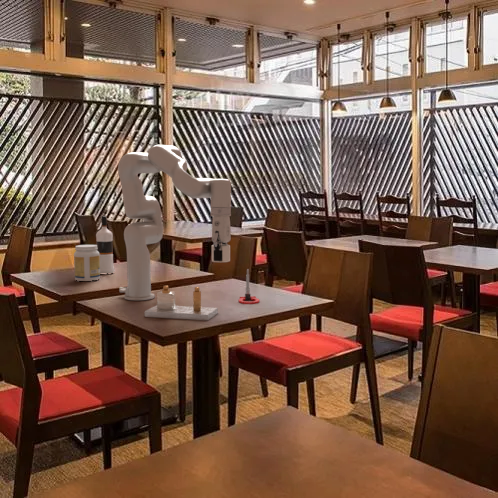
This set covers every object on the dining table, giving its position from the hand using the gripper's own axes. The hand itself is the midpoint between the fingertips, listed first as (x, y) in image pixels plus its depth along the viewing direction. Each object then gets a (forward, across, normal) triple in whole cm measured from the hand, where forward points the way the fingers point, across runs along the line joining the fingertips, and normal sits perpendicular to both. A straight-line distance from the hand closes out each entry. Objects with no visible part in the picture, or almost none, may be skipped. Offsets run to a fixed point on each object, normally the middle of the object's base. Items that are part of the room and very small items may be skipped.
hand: (220, 259), depth 238 cm
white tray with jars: (+20, -11, +12) cm, 25 cm away
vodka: (+20, +72, +83) cm, 112 cm away
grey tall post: (+20, +18, -7) cm, 28 cm away
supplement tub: (+20, +51, +82) cm, 99 cm away
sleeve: (+1, 0, 0) cm, 1 cm away
